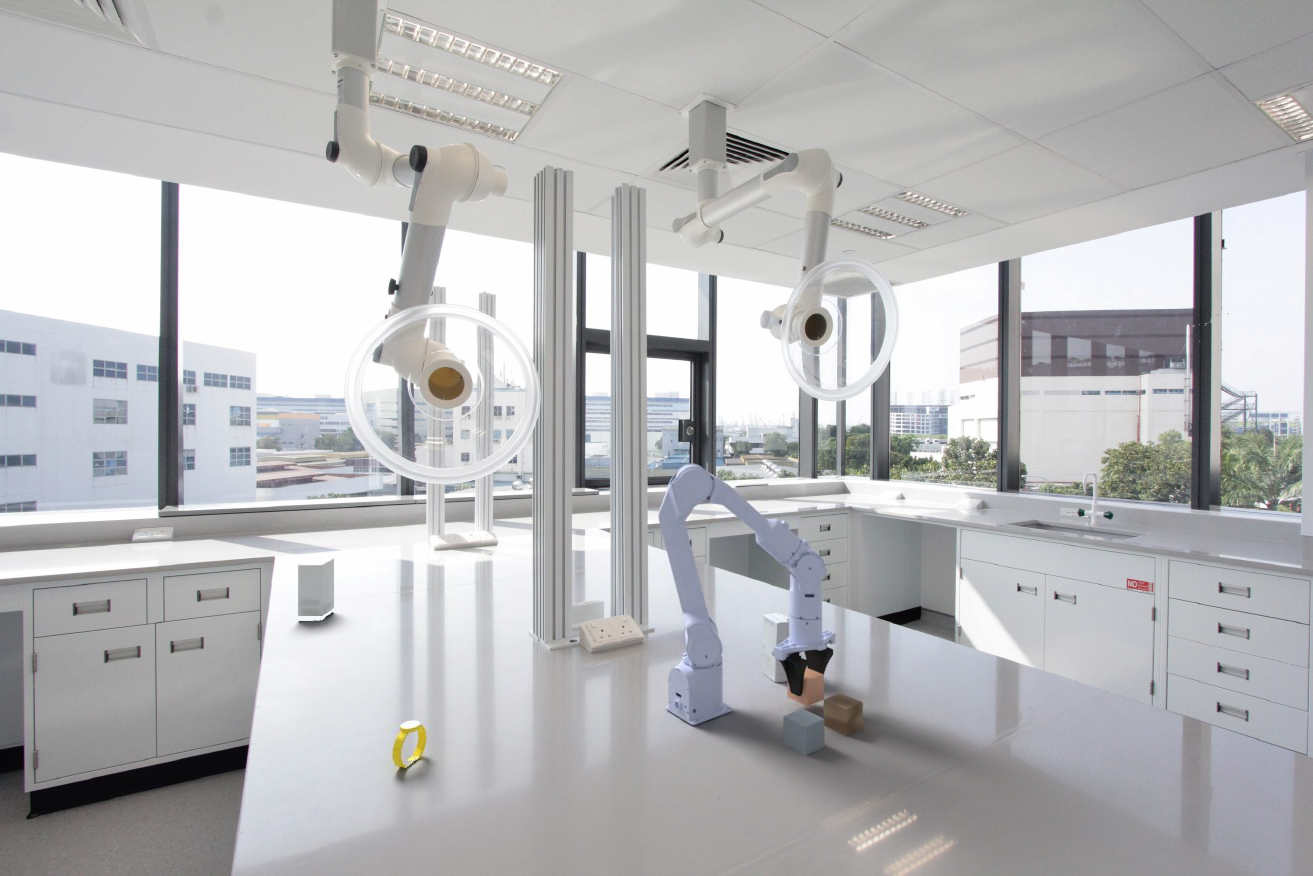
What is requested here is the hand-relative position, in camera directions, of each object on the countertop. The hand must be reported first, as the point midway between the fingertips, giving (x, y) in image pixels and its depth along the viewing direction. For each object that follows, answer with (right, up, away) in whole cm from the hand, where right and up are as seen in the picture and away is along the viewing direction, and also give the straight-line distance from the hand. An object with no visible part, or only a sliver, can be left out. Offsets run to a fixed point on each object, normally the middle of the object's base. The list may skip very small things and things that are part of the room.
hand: (805, 690), depth 108 cm
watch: (-64, -4, -17) cm, 66 cm away
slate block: (-3, -4, -12) cm, 13 cm away
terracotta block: (0, -1, 0) cm, 1 cm away
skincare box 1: (-119, -4, +55) cm, 132 cm away
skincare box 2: (-2, -4, +15) cm, 15 cm away
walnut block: (+5, -4, -6) cm, 9 cm away
